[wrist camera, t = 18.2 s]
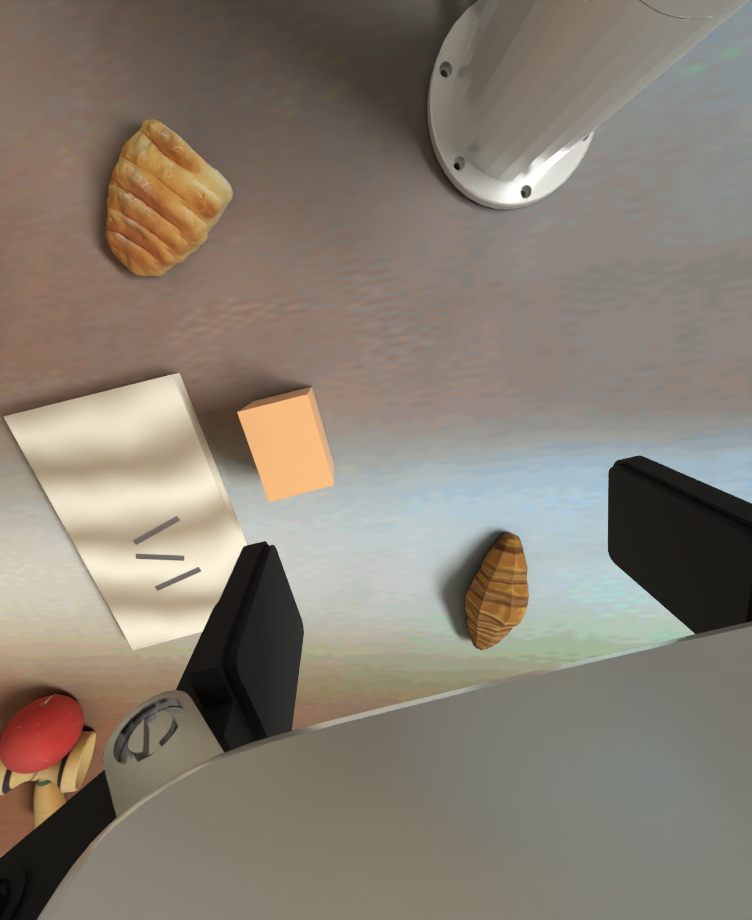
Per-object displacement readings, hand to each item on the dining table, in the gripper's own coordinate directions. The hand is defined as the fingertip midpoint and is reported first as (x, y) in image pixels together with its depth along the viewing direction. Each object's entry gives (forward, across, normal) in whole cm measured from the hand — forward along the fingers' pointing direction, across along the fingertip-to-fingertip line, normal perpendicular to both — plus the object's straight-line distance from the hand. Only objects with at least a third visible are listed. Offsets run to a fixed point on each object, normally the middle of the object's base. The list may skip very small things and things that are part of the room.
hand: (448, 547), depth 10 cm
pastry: (+25, +12, -16) cm, 32 cm away
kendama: (+21, +40, +29) cm, 54 cm away
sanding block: (+24, +8, +2) cm, 25 cm away
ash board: (+23, +21, +6) cm, 32 cm away
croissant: (+24, -8, +22) cm, 33 cm away
